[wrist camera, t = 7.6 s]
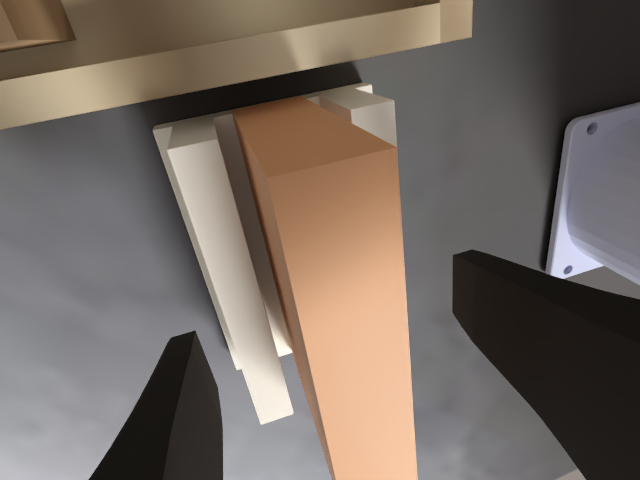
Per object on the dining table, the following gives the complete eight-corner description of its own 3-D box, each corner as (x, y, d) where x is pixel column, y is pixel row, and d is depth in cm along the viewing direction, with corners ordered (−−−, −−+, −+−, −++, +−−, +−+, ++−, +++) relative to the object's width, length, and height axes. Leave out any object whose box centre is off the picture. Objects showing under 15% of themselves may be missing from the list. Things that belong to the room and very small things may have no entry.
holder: (362, 82, 14) (415, 95, 11) (384, 310, 19) (425, 368, 15) (154, 125, 13) (140, 155, 9) (234, 357, 17) (244, 430, 14)
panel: (300, 95, 13) (397, 147, 7) (340, 335, 17) (418, 491, 11) (231, 110, 12) (267, 178, 6) (291, 350, 17) (345, 520, 11)
